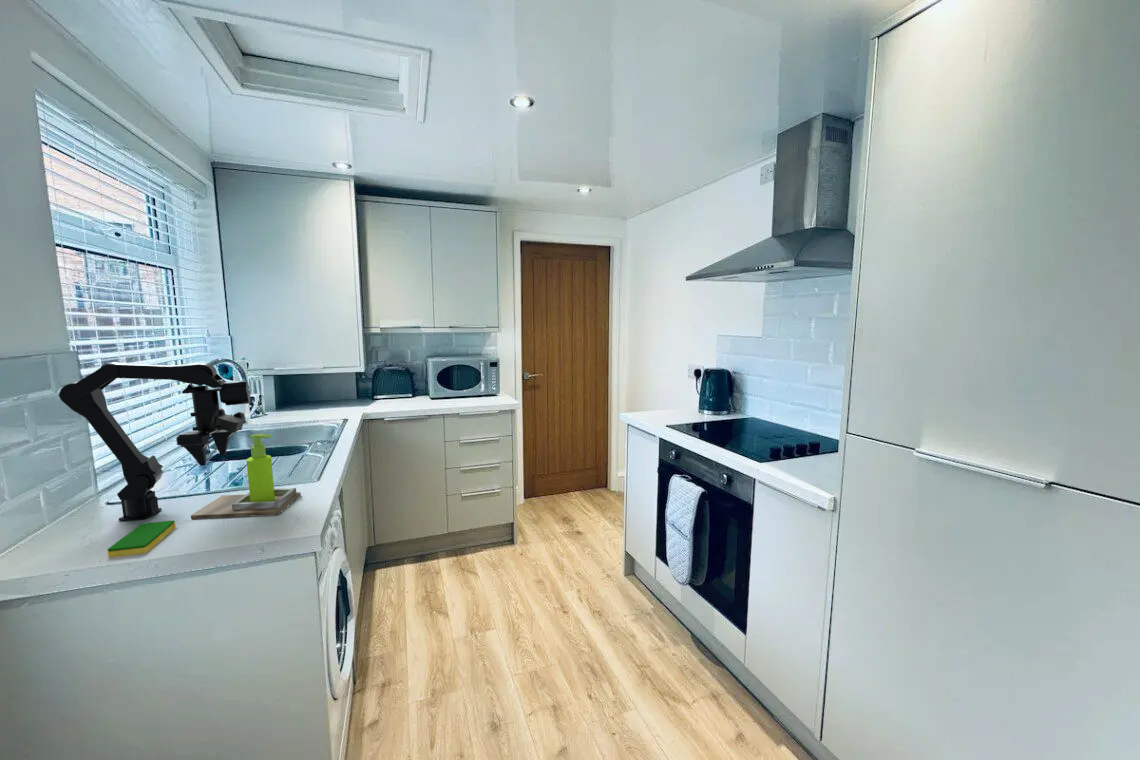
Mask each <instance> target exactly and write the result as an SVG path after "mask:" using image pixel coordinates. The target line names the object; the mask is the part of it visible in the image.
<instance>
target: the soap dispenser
mask: <svg viewBox="0 0 1140 760" xmlns="http://www.w3.org/2000/svg"><path fill="white" fill-rule="evenodd" d="M272 437H273V435H272V434H268V433H254V434H251V435H249V438H250V439H251V438H253V445H251V446H250V454H251V456H250V457H248V458H246V469H247V479H248V490H249V492H250V502H269V501H274V500H275V495H274V489H275V488H274V475H273V464H272V463H273V462H272V455H270V454H266V452H267V451H266V446H265V444H263V443H262V440H261V438H262V439H269V438H272ZM249 492H248V493H249Z"/></svg>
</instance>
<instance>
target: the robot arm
mask: <svg viewBox="0 0 1140 760" xmlns="http://www.w3.org/2000/svg"><path fill="white" fill-rule="evenodd" d="M116 379H133V380H134V379H136V380H137V379H139V380H141V379H142V380H170V381H177V382H181V383H185V384H188V385H187V386H186V387H185V389H183V390H182V391H181V393H182V394H185V395H186V394H191V397H192V398H191V399H192V405H193V412H190V417H194V420H195V426H193V427H191V428H192V431H186V432H183V433H181V434H179V435H177V437H176V441H175V442H176V445H177V446H180V447H181V448H184V449H185V450H186V451H187V452H189V454H190V455H191V456H192V458H194V460H196V462H197V463H198V464H199V465H200V466H201V467H205V466H206V465H207V447H208V446H209V444H210V443H212V441H210V438H211V437H212V439H213V442H214V444H215V446H216V449H217V451H218V454H220V455H219V456H221V457H222V456H226V454H227V451H228V450H227V449H228V447H229V446H228V445H229V442H230V439H231V436H232V435H234V433H238V432H239V431H242V429H243V427H244V424H247V420H246V417H245V416H246V415H245V413H244V412H242V411H238V412H235V413H234V414H226V412H225V409H224V408H220V407H221V406H220V402H221V403H222V404H225V406H227V407H228V406H236V405H247V404H248V405H249V404H251V391H250V388H249V386H248V381H247V380H240V381H229V382H228V381H226V380H225V379H224V378H223V377H222V376H221V375H220V374H218V372H217V369H216V367H215V366H214V365H213V364H211V363H209V362H194V363H193V362H191V363H185V364H184V363H183V364H178V365H177V364H176V365H170V364H169V365H168V364H150V363H149V364H145V363H141V364H140V363H123V362H122V363H121V362H117V361H114V362H108V363H104V364H102V366H100V368H98V369H96V370H95V371H93V372H91V373H90V374H89V375H86V376H85V377H82V379H80V380H78V381H75V382H70V383H67V384H66V385H63V387H62V388H61V389H60V391H59V393H58V396H59V399H60V401H61V402H62V403H64V404H65V405H66V406H67V407H68V408H69V409H70V410H72V411H73V412H74V413H77V414H78V415H80V416H81V417H84V419H86V420H87V421H88V423H89V424H90V426H91V427H92V429H93V430H94V431H95V432H96V433H97V434H98V436H99V438H100V439H101V440H102V441H103V442H104V444H105V445H106V446H107V448H108V449H109V450H110V451H111V453H112V454H113V455H114V456H115V458H116V459H117V460H118V462H119V464H120V465H121V470H122V475H123V478H124V480H125V481H126V483H127V484H126V485H125V486H124V487H123V488H122V489H120V491H118V492H117V494H116V495H117V497H118V499H119V500H120V501H121V502H120V503H121V509H122V516H121V517H118V521H135V520H136V521H139V520H140V521H141V520H146V519H148V518H149V517H151V516H153V515H155V514H158V512H160V511H162V507H159V502H158V496H156V491H155V490H152V489H153V488H154V487H155V485H156V484H157V483H158V481H160V480H161V479H162V476H163V473H164V472H163V469H162V468H164V466H163V465H162V464H160V462H159V461H158V459H157V457H156V456H155V455H153V454H152V455H151V456H150V457H147V456H146V455H145V454H143V453H141V451H140V450H139V449H138V448H137V447H136V445H135V444H134V442H133V441H132V439H130V437H129V436H128V435H127V433H126V432H125V431H124V429H123V428H122V426H121V425H120V424H119V423H118V421H117V420H116V419H115V417H114V416H113V415H112V413H111V412H110V410H109V409H108V405H107V400H106V399H107V398H106V396H105V394H104V392H103V390H104V389H105V388H106V387H108V386H109V385H110V384H112V382H114V381H115V380H116ZM218 392H219V393H218ZM219 401H220V402H219Z"/></svg>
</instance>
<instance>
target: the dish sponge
mask: <svg viewBox="0 0 1140 760" xmlns="http://www.w3.org/2000/svg"><path fill="white" fill-rule="evenodd" d="M175 528H176V523H175V520H165V521H164V520H163V521H153V522H145V523H144V522H143V523H141V524H139V525H138V526H136V527H135V528H134V529H132V530H131V531H130V532H128V533H127V534H126V535H124V536H123V537H122V538H120V539H119V540H118V541H117V542H115V543H114V544H112V545H111V546H110V547H109V548H107V550H106V551H107V554H108V555H107V556H108V558H109V559H110V558H117V556H118V557H125V556H126V555H127V556H135V555H140V554H141V555H142V554H146V553H148V552H149V551H150V550H151V549H153V548H154V547H155V546H156V545H157V544H158V543H159V542H161V541H162V540H163V539H164V538H165V537H167V535H169V534H170V533H171V532H172V531H174V530H175ZM176 529H177V528H176Z"/></svg>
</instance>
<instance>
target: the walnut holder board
mask: <svg viewBox="0 0 1140 760" xmlns="http://www.w3.org/2000/svg"><path fill="white" fill-rule="evenodd" d="M274 495H275V500H274V501H269V502H250V492H248V493H245V494H227V495H226V494H223V495H220V496H219V497H218V498H215V499H214V500H212V501H211V502H210V503H208V504H206V505H205V506H203V507H202V508H200V509H198V510H197V511H196V512H194V513H192V514H190V519H191V520H194V519H195V520H196V519H200V520H201V519H219V518H222V517H223V518H239V517H238V516H244V517H252V516H251V515H265V516H273V515H272V514H279V513H280V512H281V511H282V510H283V511H285V510H286V509H287V508H288V507H289V506H290V505H292V504H293V503H294V502H295V501H296V500H297V499H298V498H299V497H301V496H300V495H301V491H298V492H297V488H296V487H291V488H290V487H285V488H274ZM294 500H295V501H294ZM293 501H294V502H293ZM292 502H293V503H292ZM289 504H290V505H289ZM288 505H289V506H288ZM287 506H288V507H287ZM286 507H287V508H286ZM285 508H286V509H285ZM284 509H285V510H284ZM283 511H282V512H283ZM282 512H281V513H282ZM281 513H280V514H281ZM280 514H279V515H280Z"/></svg>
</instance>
